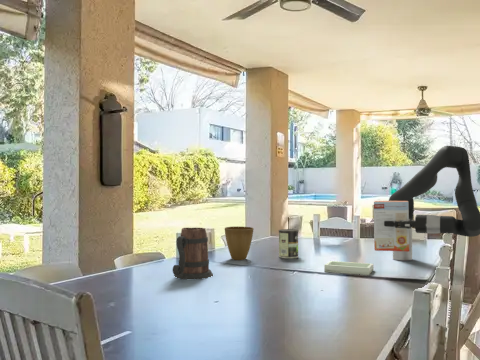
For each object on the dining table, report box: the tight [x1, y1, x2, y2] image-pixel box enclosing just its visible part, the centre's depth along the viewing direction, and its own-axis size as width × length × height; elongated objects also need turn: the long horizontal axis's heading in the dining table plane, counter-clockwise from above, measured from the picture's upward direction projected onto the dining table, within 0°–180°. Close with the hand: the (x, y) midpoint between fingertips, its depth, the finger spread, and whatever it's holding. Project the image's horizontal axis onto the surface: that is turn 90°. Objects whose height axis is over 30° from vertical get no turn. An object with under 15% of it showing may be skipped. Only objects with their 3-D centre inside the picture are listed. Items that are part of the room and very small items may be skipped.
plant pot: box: [224, 226, 254, 261], centre depth 236 cm, size 15×15×16 cm
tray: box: [323, 260, 374, 276], centre depth 202 cm, size 11×19×3 cm, turn 65°
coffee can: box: [278, 228, 299, 259], centre depth 242 cm, size 10×10×14 cm
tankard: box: [172, 227, 214, 280], centre depth 193 cm, size 24×17×20 cm
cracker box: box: [373, 200, 409, 252], centre depth 195 cm, size 14×6×21 cm, turn 71°
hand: (385, 222), depth 196 cm, fingers closed on cracker box, 6 cm apart
